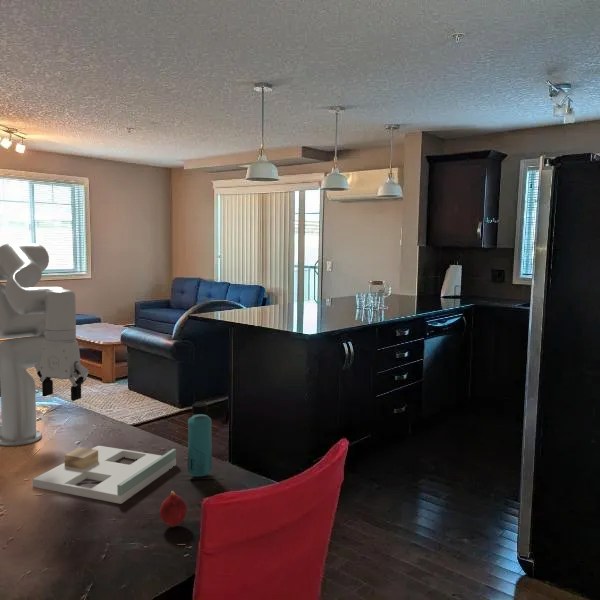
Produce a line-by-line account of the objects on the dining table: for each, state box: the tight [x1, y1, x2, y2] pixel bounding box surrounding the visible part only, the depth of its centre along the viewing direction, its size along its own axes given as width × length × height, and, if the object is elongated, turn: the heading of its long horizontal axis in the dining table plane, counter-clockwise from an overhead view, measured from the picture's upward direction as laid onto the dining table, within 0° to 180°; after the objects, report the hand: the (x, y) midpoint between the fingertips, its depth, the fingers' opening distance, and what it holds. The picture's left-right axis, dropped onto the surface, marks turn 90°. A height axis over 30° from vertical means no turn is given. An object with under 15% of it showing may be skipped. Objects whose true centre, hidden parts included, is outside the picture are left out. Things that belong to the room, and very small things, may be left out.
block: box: [63, 446, 98, 469], centre depth 148 cm, size 6×6×3 cm
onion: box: [159, 490, 188, 528], centre depth 120 cm, size 6×6×8 cm
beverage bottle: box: [186, 402, 213, 477], centre depth 145 cm, size 6×7×20 cm
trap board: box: [32, 445, 177, 504], centre depth 145 cm, size 26×25×4 cm
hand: (61, 397), depth 150 cm, fingers open, 9 cm apart
